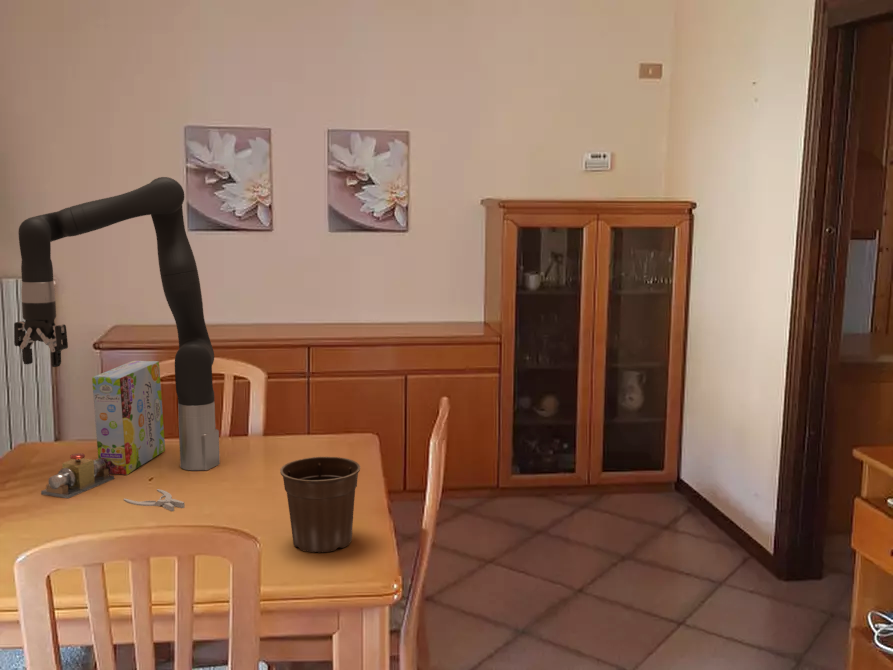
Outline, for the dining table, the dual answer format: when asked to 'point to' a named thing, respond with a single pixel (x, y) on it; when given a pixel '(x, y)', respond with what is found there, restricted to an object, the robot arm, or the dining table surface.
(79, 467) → the push button
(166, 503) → the pliers
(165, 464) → the dining table surface
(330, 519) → the plant pot
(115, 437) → the snack box
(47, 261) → the robot arm
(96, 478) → the flanged cylinder mounting plate
